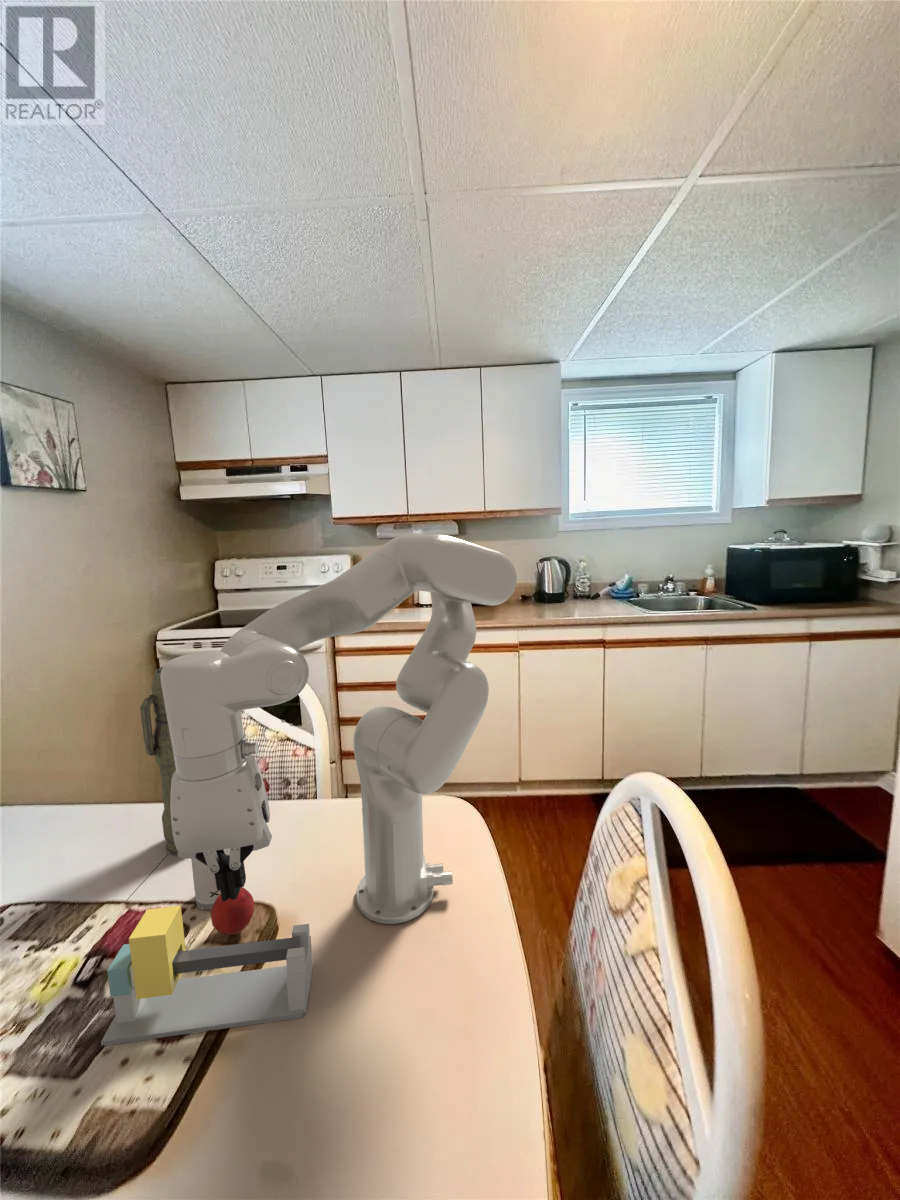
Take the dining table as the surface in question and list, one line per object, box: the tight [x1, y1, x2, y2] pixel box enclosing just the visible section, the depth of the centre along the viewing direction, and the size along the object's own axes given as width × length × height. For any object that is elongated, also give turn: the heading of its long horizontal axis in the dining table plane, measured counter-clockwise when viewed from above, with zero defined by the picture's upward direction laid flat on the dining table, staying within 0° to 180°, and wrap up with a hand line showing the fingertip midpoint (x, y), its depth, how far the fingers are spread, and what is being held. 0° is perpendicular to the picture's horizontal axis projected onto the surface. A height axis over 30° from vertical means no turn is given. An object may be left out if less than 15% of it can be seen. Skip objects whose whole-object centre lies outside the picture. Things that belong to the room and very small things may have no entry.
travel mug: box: [190, 849, 230, 910], centre depth 77 cm, size 6×7×20 cm
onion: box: [210, 887, 255, 936], centre depth 71 cm, size 6×6×8 cm
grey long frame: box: [100, 923, 314, 1047], centre depth 60 cm, size 23×7×8 cm, turn 98°
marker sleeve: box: [128, 905, 187, 999], centre depth 59 cm, size 4×4×8 cm
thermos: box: [139, 665, 178, 856], centre depth 91 cm, size 9×12×35 cm
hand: (233, 891), depth 60 cm, fingers closed
